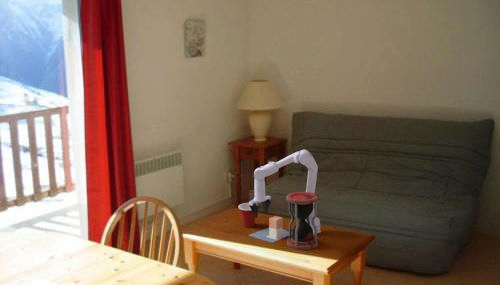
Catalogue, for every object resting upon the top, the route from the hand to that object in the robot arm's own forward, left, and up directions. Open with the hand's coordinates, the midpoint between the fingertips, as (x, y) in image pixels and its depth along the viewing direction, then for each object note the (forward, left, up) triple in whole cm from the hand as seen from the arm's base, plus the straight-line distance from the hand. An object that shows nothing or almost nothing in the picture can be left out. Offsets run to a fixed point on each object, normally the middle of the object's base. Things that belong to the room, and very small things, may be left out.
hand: (260, 215), depth 298 cm
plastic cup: (+12, -3, -10) cm, 16 cm away
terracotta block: (-11, 0, -4) cm, 12 cm away
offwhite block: (-11, 0, -9) cm, 14 cm away
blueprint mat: (-7, -1, -9) cm, 12 cm away
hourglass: (-28, -1, -10) cm, 30 cm away
